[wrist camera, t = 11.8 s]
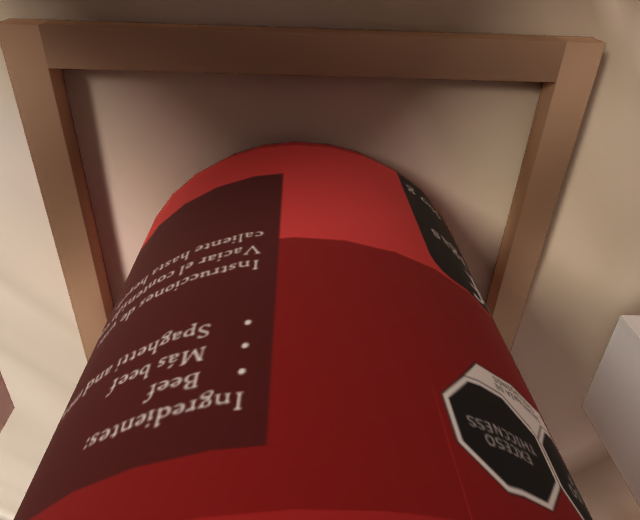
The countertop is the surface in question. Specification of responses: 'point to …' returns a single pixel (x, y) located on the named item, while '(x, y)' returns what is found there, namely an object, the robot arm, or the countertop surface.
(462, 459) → the canned food
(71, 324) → the countertop surface
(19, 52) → the frame
